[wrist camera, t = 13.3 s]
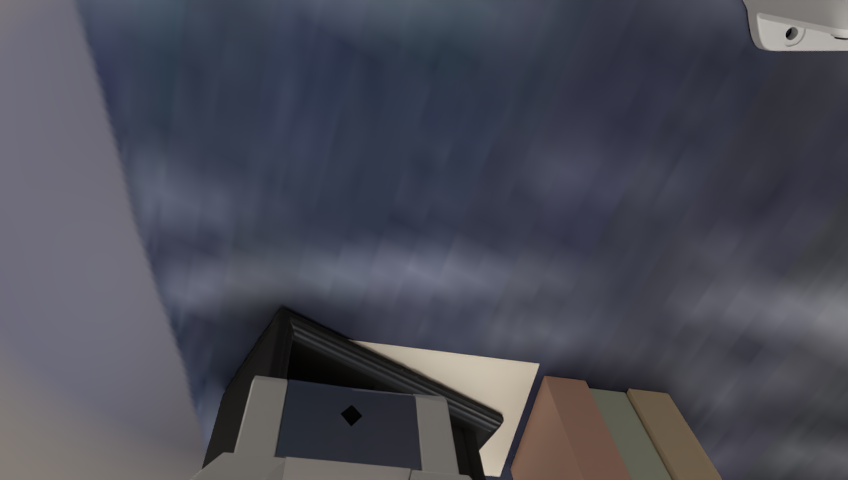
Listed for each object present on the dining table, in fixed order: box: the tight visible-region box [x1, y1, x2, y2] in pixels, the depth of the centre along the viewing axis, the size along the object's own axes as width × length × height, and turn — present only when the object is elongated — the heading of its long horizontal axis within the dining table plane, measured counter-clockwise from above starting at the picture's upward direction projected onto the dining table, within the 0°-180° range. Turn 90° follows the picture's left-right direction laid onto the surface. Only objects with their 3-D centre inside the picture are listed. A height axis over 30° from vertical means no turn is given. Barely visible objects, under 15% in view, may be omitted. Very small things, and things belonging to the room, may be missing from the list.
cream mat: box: [350, 340, 539, 477], centre depth 58 cm, size 24×14×1 cm, turn 78°
